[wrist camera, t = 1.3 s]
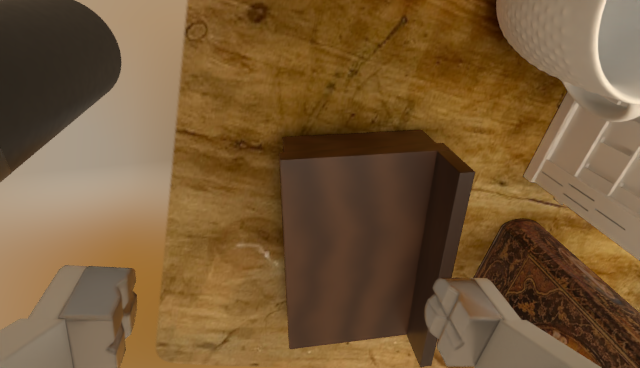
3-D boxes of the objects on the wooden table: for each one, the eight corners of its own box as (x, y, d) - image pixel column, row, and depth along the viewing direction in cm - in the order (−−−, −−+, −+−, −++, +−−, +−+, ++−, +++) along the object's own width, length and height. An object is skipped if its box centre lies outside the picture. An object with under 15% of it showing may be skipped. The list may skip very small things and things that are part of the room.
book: (506, 216, 42) (769, 470, 21) (547, 221, 44) (832, 465, 22) (449, 321, 50) (601, 590, 28) (486, 323, 51) (656, 581, 29)
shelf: (286, 312, 45) (293, 384, 37) (276, 136, 34) (283, 185, 26) (401, 299, 46) (431, 365, 39) (427, 128, 36) (475, 171, 28)
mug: (607, 63, 35) (774, 106, 24) (496, 120, 36) (606, 187, 25) (592, -122, 28) (822, -183, 17) (454, -43, 29) (581, -51, 18)
